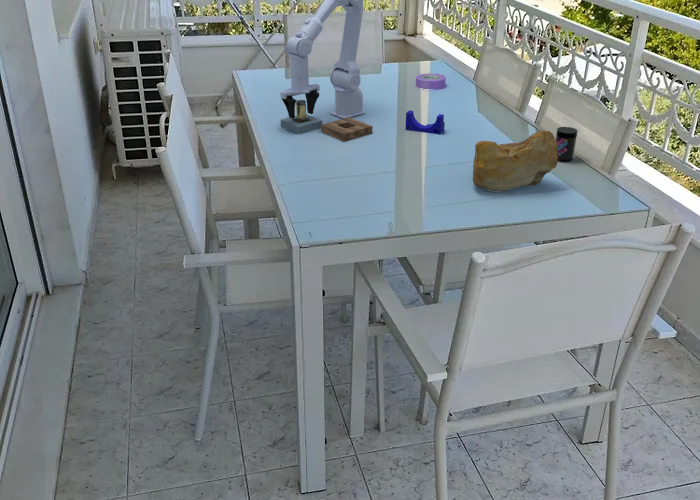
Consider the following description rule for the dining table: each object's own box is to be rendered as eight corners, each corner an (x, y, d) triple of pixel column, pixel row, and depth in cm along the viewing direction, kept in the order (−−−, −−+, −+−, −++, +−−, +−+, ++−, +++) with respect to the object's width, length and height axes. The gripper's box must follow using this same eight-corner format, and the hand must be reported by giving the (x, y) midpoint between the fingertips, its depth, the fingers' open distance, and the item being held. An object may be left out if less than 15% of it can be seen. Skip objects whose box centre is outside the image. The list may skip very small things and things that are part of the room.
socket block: (348, 124, 238) (348, 117, 237) (372, 133, 230) (372, 126, 229) (321, 132, 231) (320, 124, 230) (344, 141, 223) (344, 134, 222)
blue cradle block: (444, 130, 233) (445, 113, 230) (440, 135, 229) (441, 117, 226) (409, 126, 237) (410, 109, 234) (405, 130, 233) (406, 112, 230)
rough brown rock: (535, 170, 204) (538, 119, 198) (561, 188, 189) (565, 134, 183) (458, 178, 201) (459, 127, 195) (478, 197, 186) (479, 142, 180)
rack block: (304, 120, 242) (304, 113, 240) (322, 127, 235) (322, 120, 234) (280, 126, 236) (280, 119, 235) (298, 134, 229) (298, 126, 228)
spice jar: (302, 125, 237) (301, 99, 233) (308, 127, 235) (307, 101, 231) (295, 127, 236) (293, 101, 231) (301, 129, 233) (299, 103, 229)
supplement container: (551, 155, 212) (555, 126, 208) (571, 155, 212) (575, 127, 207) (554, 162, 207) (558, 132, 203) (574, 163, 207) (579, 133, 202)
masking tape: (412, 89, 276) (413, 79, 274) (418, 81, 286) (419, 72, 284) (442, 91, 273) (443, 81, 271) (447, 83, 283) (448, 74, 281)
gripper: (288, 81, 220) (290, 123, 227) (324, 73, 228) (325, 114, 235) (275, 76, 225) (278, 117, 231) (311, 69, 233) (312, 109, 240)
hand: (301, 115), depth 234 cm, fingers open, 7 cm apart
